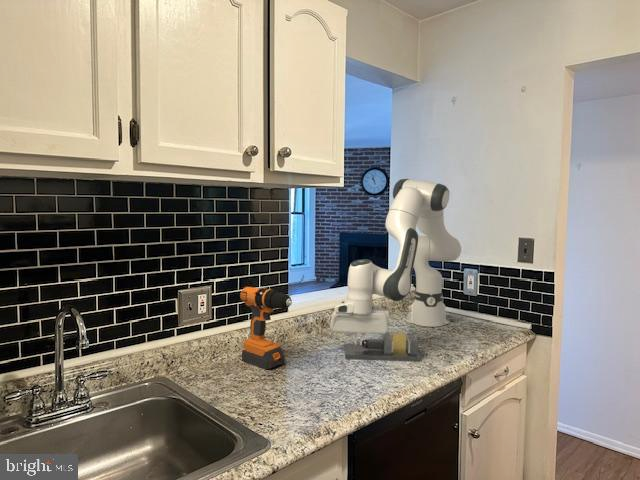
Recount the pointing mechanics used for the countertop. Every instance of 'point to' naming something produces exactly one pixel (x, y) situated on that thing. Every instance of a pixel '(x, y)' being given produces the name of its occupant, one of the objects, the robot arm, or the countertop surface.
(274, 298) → the power drill
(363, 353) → the vise
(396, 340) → the block
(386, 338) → the jaw
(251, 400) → the countertop surface
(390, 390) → the countertop surface
